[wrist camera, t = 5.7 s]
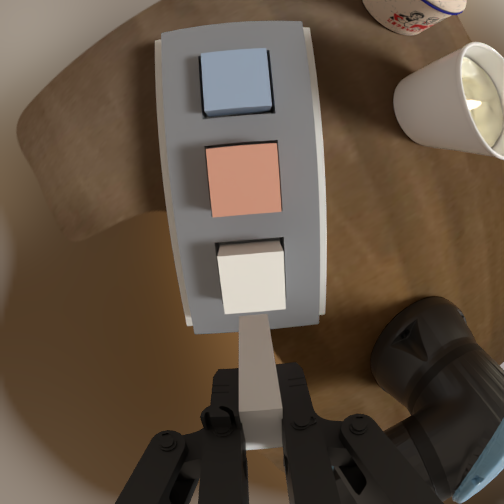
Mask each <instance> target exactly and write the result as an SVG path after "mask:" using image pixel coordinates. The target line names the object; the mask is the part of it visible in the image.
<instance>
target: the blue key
mask: <svg viewBox="0 0 504 504" xmlns="http://www.w3.org/2000/svg"><path fill="white" fill-rule="evenodd" d="M201 65H202V82H203V97H204V111H205V113H206V114H207V115H208V116H209V117H215V116H224V115H235V114H247V113H263V112H269V110H270V108H271V107H272V101H271V90H270V80H269V70H268V60H267V51H266V48H253V49H237V50H226V51H216V52H208V53H201Z"/></svg>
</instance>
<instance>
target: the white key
mask: <svg viewBox="0 0 504 504" xmlns="http://www.w3.org/2000/svg"><path fill="white" fill-rule="evenodd" d="M217 259H218V267H219V275H220V282H221V290H222V297H223V305H224V312H225V314H235V313H248V312H260V311H271V310H282V309H286V301H285V274H284V251H283V249H282V246H281V244H280V242H279V240H276V241H264V242H252V243H240V244H229V245H220V248H219V252H218V256H217Z"/></svg>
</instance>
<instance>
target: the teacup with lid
mask: <svg viewBox="0 0 504 504" xmlns="http://www.w3.org/2000/svg"><path fill="white" fill-rule="evenodd" d="M362 1H363V4H364V5H365V7H366V9H367V10H368V12H369V13H370V14H371V15H372V16H373V17H374V18H375V19H376V20H377V21H378V22H379V23H380V24H382V25H383V26H385V27H386V28H388V29H390V30H392V31H394V32H396V33H399V34H402V35H416V34H419V33H420V32H422V31H424V30H425V29H427V28H429V27H431V26H433V25H434V24H436V23H438V22H440V21H442V20H443V19H445V18H447V17H449V16H451V15H458V14H460V13H462V12H463V10H464V9H465V7H466V0H362Z"/></svg>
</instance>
